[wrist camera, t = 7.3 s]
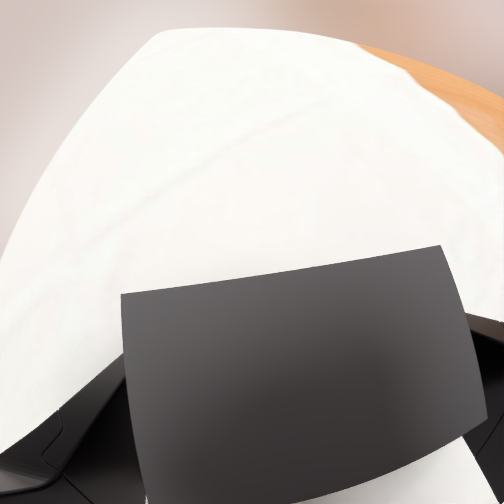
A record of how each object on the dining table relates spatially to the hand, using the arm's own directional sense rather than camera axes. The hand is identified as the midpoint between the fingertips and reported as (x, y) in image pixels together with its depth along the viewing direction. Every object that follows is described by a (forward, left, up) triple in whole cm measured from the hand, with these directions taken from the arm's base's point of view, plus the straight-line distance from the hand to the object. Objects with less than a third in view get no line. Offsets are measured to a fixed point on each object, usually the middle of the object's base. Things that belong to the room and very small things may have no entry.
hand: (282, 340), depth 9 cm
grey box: (-1, +1, -7) cm, 7 cm away
